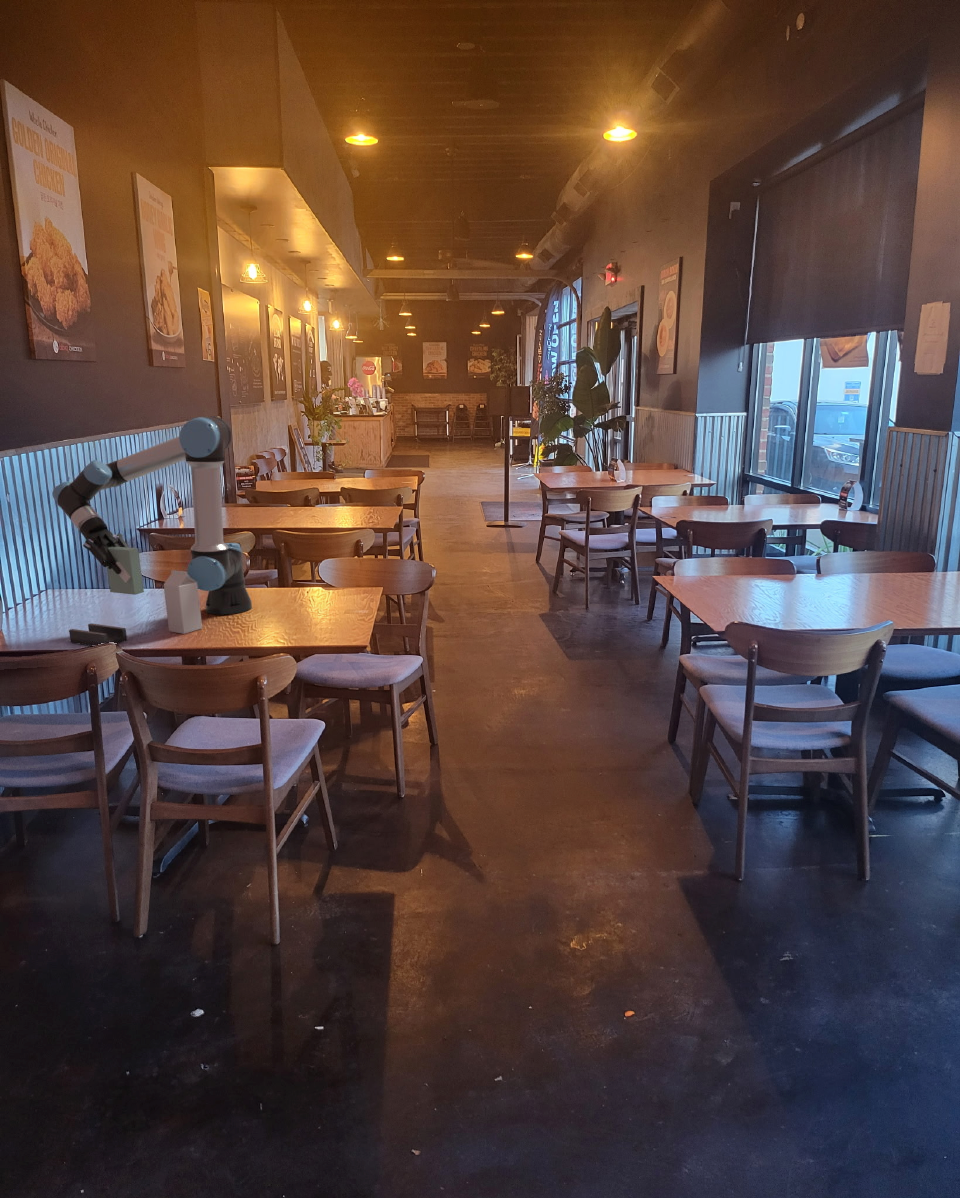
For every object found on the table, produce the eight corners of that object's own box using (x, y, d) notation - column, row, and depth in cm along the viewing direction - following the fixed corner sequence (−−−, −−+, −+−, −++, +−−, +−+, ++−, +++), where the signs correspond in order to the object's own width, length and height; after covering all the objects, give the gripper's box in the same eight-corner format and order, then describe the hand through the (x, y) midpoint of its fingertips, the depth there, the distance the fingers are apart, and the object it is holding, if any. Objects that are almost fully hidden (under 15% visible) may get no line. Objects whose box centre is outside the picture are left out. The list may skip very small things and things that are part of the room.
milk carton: (184, 634, 261) (177, 574, 256) (168, 631, 264) (161, 572, 260) (202, 628, 266) (196, 569, 262) (187, 626, 270) (180, 567, 266)
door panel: (143, 592, 266) (138, 548, 262) (134, 594, 263) (128, 550, 259) (119, 589, 271) (113, 546, 267) (110, 592, 268) (104, 548, 264)
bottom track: (127, 640, 255) (125, 628, 254) (105, 648, 249) (103, 635, 248) (93, 635, 262) (91, 623, 261) (70, 642, 255) (68, 629, 254)
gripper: (106, 527, 276) (149, 580, 273) (62, 536, 262) (106, 592, 258) (116, 512, 273) (159, 565, 269) (71, 519, 258) (116, 576, 255)
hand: (133, 578), depth 264 cm, fingers closed on door panel, 3 cm apart
